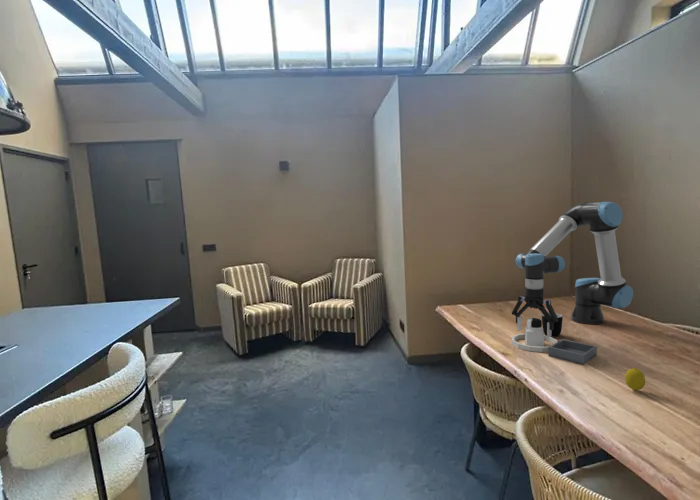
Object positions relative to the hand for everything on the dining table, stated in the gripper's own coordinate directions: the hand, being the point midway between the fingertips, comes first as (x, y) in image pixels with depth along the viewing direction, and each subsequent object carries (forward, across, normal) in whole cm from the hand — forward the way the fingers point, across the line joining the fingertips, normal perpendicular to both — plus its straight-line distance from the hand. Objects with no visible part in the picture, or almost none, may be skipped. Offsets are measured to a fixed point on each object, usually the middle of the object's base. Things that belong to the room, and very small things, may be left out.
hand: (533, 333), depth 177 cm
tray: (+5, +18, -3) cm, 19 cm away
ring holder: (+5, 0, 0) cm, 5 cm away
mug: (+5, -1, +19) cm, 20 cm away
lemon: (+6, +44, -21) cm, 49 cm away
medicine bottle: (+5, 0, 0) cm, 5 cm away
